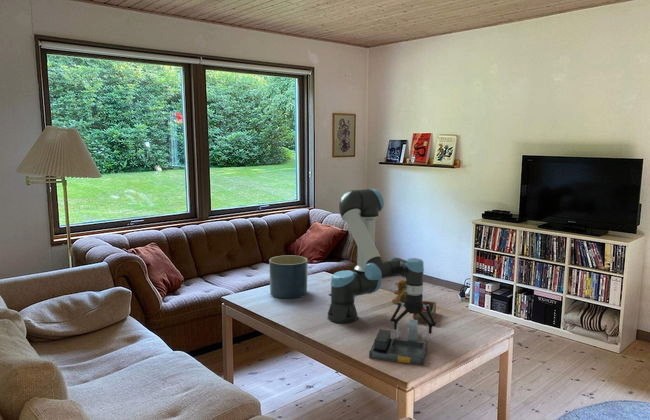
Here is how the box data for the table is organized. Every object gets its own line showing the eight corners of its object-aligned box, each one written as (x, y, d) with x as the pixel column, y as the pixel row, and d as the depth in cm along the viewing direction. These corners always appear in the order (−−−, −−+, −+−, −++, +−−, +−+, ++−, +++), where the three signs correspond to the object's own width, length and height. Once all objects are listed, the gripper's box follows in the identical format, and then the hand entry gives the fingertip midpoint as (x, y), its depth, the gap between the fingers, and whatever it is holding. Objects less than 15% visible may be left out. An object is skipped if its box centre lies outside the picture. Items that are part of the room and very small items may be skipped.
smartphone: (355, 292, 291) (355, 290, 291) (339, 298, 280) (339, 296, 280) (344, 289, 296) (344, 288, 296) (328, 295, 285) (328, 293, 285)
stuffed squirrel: (406, 299, 279) (406, 276, 277) (418, 307, 266) (419, 283, 264) (390, 300, 276) (390, 278, 274) (401, 309, 262) (402, 285, 261)
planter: (306, 299, 277) (306, 264, 274) (267, 299, 277) (266, 264, 274) (308, 287, 299) (308, 255, 296) (272, 287, 299) (271, 255, 296)
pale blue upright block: (407, 344, 218) (408, 329, 217) (408, 333, 230) (408, 319, 229) (416, 345, 217) (417, 329, 216) (417, 334, 229) (417, 320, 228)
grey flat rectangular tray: (368, 358, 204) (369, 342, 203) (376, 341, 220) (377, 326, 219) (422, 365, 197) (423, 349, 196) (426, 347, 214) (427, 332, 213)
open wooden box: (413, 322, 244) (414, 310, 243) (417, 311, 259) (417, 300, 259) (433, 324, 241) (433, 312, 240) (435, 313, 257) (436, 302, 256)
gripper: (385, 293, 220) (383, 338, 224) (442, 298, 213) (440, 344, 217) (387, 288, 228) (386, 332, 231) (443, 293, 221) (441, 338, 224)
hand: (412, 338), depth 224 cm, fingers open, 13 cm apart
